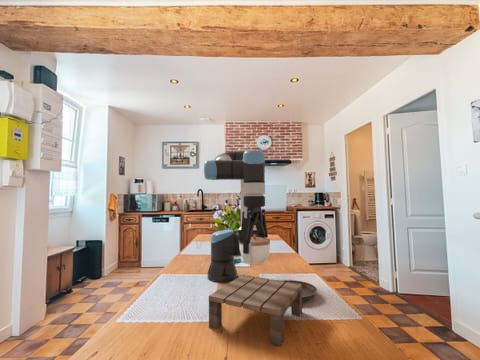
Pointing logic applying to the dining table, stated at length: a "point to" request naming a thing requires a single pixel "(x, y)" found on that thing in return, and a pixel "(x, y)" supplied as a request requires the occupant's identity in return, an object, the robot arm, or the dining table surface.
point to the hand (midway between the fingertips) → (254, 259)
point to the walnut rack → (258, 301)
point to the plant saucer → (305, 290)
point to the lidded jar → (258, 249)
